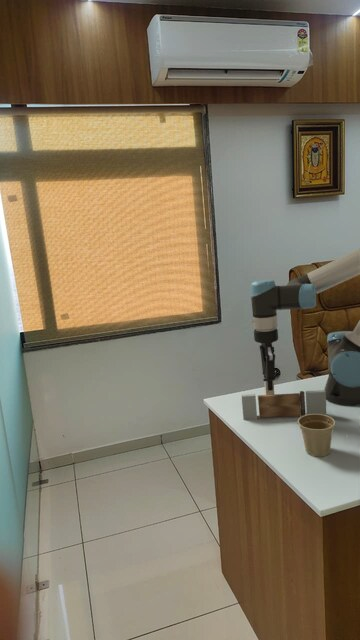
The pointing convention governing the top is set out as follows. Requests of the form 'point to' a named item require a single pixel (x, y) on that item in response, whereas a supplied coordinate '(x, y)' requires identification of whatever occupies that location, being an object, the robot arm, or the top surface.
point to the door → (282, 405)
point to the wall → (313, 406)
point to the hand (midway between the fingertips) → (270, 398)
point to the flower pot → (317, 433)
